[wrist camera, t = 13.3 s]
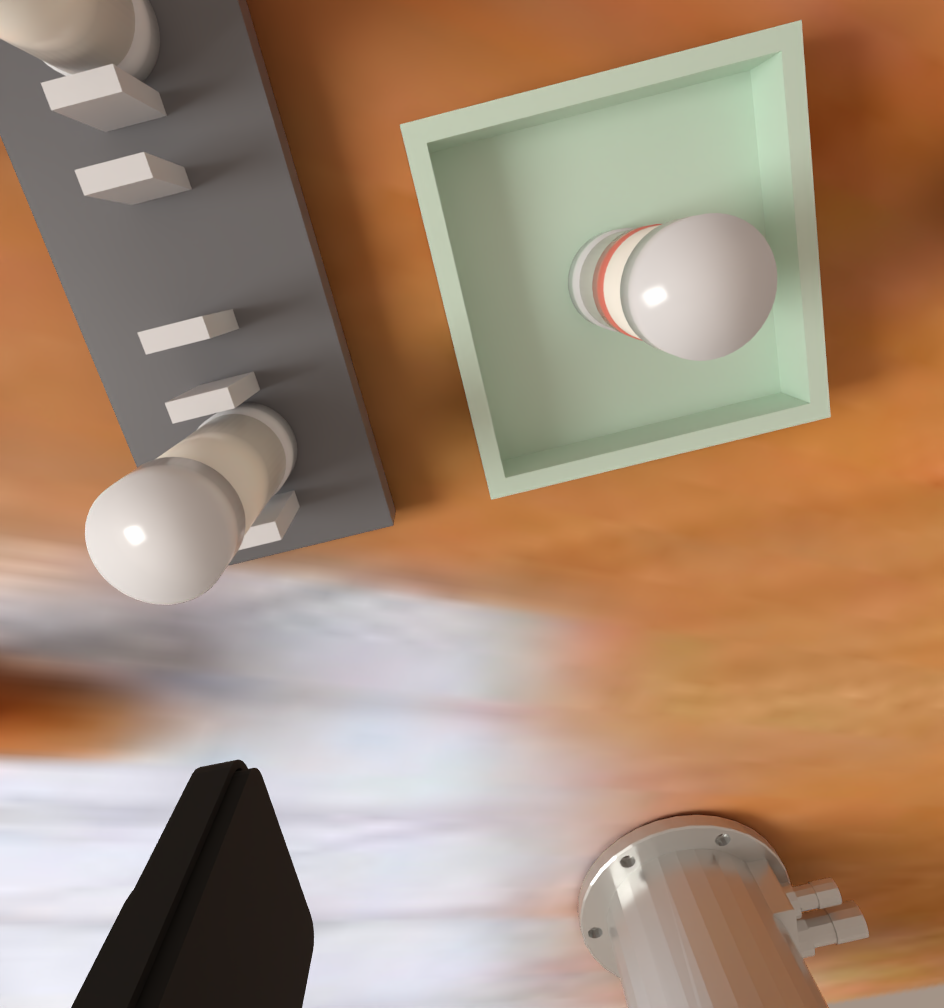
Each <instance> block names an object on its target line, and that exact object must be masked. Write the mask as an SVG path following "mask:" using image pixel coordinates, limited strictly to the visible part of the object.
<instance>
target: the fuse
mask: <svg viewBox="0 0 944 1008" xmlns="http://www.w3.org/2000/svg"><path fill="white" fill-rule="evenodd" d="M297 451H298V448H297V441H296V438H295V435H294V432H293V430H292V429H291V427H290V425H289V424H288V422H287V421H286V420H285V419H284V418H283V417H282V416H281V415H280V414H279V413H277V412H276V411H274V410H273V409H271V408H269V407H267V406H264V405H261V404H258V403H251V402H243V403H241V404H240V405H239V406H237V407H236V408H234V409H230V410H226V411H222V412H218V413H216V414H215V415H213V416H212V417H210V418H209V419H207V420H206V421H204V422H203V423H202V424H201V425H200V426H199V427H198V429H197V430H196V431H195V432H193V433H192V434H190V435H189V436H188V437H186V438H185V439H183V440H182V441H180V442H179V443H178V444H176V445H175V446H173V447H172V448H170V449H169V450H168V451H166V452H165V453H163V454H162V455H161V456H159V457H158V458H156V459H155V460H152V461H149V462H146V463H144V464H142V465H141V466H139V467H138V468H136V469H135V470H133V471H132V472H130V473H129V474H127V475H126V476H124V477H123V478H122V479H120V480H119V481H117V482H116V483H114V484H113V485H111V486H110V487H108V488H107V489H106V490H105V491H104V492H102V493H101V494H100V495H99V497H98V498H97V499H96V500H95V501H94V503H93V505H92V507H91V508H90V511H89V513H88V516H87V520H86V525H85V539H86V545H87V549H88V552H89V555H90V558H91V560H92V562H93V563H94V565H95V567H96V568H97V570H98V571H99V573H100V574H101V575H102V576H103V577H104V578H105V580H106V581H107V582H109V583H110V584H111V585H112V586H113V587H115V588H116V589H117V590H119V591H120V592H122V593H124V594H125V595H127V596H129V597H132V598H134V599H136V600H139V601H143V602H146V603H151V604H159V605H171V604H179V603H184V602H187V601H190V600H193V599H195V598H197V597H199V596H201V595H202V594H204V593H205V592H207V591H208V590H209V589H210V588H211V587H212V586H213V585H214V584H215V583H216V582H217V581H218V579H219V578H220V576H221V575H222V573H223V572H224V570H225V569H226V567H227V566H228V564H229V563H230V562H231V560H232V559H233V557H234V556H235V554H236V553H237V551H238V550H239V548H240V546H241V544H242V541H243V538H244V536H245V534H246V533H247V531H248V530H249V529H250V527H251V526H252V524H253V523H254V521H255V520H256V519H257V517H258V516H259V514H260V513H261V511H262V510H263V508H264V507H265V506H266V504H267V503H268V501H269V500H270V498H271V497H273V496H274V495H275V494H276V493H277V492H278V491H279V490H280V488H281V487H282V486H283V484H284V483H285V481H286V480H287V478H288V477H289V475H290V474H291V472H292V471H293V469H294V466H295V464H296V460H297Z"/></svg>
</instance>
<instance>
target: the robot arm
mask: <svg viewBox="0 0 944 1008" xmlns="http://www.w3.org/2000/svg"><path fill="white" fill-rule="evenodd" d="M816 908H817V910H813V911H809V912H804V913H801V912H803V911H807V910H812V909H816ZM578 917H579V922H580V928H581V932H582V935H583V938H584V941H585V945H586V946H587V948H588V949H589V951H590V953H591V954H592V956H593V957H594V959H596V960H597V961H598V962H599V963H600V964H601V965H602V966H603V967H604V968H605V969H606V970H608V971H609V972H611V973H612V974H614V975H616V976H617V977H619V978H620V979H621V983H622V987H623V991H624V995H625V999H626V1002H627V1006H628V1008H829V1007H828V1005H827V1003H826V1001H825V999H824V998H823V996H822V994H821V992H820V990H819V988H818V986H817V984H816V982H815V981H814V979H813V977H812V975H811V973H810V971H809V969H808V967H807V965H806V964H805V962H804V960H803V958H807V957H812V956H814V955H815V948H816V947H821V946H825V945H830V944H834V943H835V944H836V945H837V944H842V943H846V942H851V941H855V940H860V939H864V938H868V937H869V932H868V928H867V924H866V921H865V919H864V917H863V914H862V912H861V911H860V909H859V907H858V906H857V904H856V903H855V902H854V901H852V900H849V901H844V902H842V899H841V894H840V892H839V889H838V887H837V885H836V883H835V881H834V880H833V879H832V878H830V877H829V878H824V879H820V880H815V881H811V882H808V884H804V885H799V886H795V887H791V883H790V880H789V877H788V874H787V871H786V868H785V867H784V865H783V863H782V861H781V859H780V858H779V856H778V854H777V852H776V851H775V850H774V848H773V847H772V846H771V845H770V844H769V842H768V841H767V840H766V839H765V838H764V837H762V836H761V835H760V834H758V833H757V832H756V831H754V830H753V829H751V828H749V827H747V826H745V825H743V824H741V823H739V822H737V821H733V820H729V819H726V818H722V817H718V816H707V815H687V816H675V817H671V818H667V819H662V820H658V821H655V822H652V823H650V824H647V825H644V826H642V827H639V828H637V829H635V830H633V831H632V832H630V833H628V834H626V835H625V836H623V837H621V838H620V839H618V840H617V841H616V842H615V843H613V844H612V845H611V846H610V847H608V848H607V849H606V850H605V851H604V852H603V853H602V854H601V855H600V856H599V858H598V859H597V860H596V861H595V862H594V863H593V865H592V866H591V868H590V869H589V871H588V873H587V875H586V877H585V878H584V880H583V883H582V886H581V889H580V893H579V896H578ZM313 946H314V929H313V922H312V918H311V914H310V912H309V909H308V906H307V903H306V900H305V897H304V894H303V892H302V889H301V886H300V883H299V880H298V877H297V874H296V872H295V869H294V866H293V863H292V860H291V857H290V854H289V852H288V849H287V846H286V843H285V840H284V837H283V834H282V832H281V829H280V826H279V823H278V820H277V817H276V814H275V811H274V809H273V806H272V803H271V800H270V797H269V794H268V791H267V789H266V786H265V783H264V780H263V777H262V775H261V773H260V771H259V770H258V769H257V768H251V769H248V768H247V766H246V764H245V763H244V762H243V761H241V760H234V761H229V762H224V763H219V764H214V765H209V766H204V767H200V768H197V769H196V770H195V771H194V773H193V774H192V776H191V778H190V780H189V782H188V783H187V785H186V787H185V789H184V791H183V793H182V795H181V797H180V799H179V801H178V803H177V805H176V807H175V809H174V811H173V813H172V815H171V817H170V819H169V821H168V823H167V825H166V827H165V829H164V831H163V833H162V835H161V837H160V839H159V841H158V843H157V845H156V847H155V849H154V851H153V853H152V855H151V857H150V859H149V861H148V863H147V865H146V867H145V869H144V870H143V872H142V874H141V876H140V878H139V880H138V882H137V884H136V886H135V888H134V890H133V891H132V892H131V894H130V895H129V897H128V898H127V900H126V901H125V903H124V905H123V907H122V909H121V911H120V913H119V915H118V917H117V919H116V921H115V923H114V925H113V927H112V929H111V931H110V932H109V934H108V936H107V938H106V940H105V942H104V944H103V946H102V948H101V950H100V952H99V954H98V956H97V958H96V960H95V962H94V964H93V966H92V968H91V970H90V972H89V974H88V976H87V978H86V980H85V982H84V983H83V985H82V987H81V989H80V991H79V993H78V995H77V997H76V999H75V1001H74V1003H73V1005H72V1007H71V1008H302V1005H303V1000H304V994H305V989H306V984H307V979H308V974H309V968H310V963H311V958H312V953H313Z"/></svg>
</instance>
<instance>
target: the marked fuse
mask: <svg viewBox="0 0 944 1008" xmlns="http://www.w3.org/2000/svg"><path fill="white" fill-rule="evenodd" d="M568 290H569V295H570V298H571V301H572V303H573V305H574V307H575V308H576V310H577V311H578V312H579V314H580V315H581V316H582V317H583V318H585V319H586V320H587V321H589V322H591V323H592V324H595V325H597V326H600V327H602V328H605V329H608V330H611V331H615V332H619V333H622V334H624V335H627V336H630V337H632V338H635V339H637V340H641V341H644V342H645V343H647V344H648V345H650V346H652V347H654V348H657V349H659V350H662V351H664V352H667V353H669V354H672V355H675V356H677V357H680V358H683V359H687V360H694V361H706V360H713V359H717V358H720V357H724V356H726V355H728V354H731V353H733V352H734V351H736V350H738V349H739V348H741V347H742V346H744V345H745V344H746V343H747V342H749V341H750V340H751V339H752V338H753V337H754V336H755V335H756V334H757V332H758V331H759V330H760V329H761V327H762V326H763V324H764V323H765V321H766V319H767V318H768V316H769V313H770V311H771V309H772V306H773V303H774V300H775V296H776V291H777V268H776V262H775V259H774V255H773V252H772V250H771V248H770V246H769V244H768V243H767V241H766V239H765V238H764V237H763V235H762V234H761V233H760V232H759V231H758V230H757V229H756V228H755V227H754V226H752V225H751V224H750V223H748V222H746V221H745V220H743V219H740V218H738V217H736V216H732V215H728V214H722V213H707V214H702V215H696V216H690V217H685V218H679V219H674V220H671V221H668V222H666V223H663V224H654V225H648V226H643V227H637V228H623V229H617V230H611V231H606V232H603V233H600V234H598V235H596V236H594V237H592V238H591V239H589V240H588V241H587V242H586V243H585V244H584V245H583V246H582V247H581V248H580V249H579V250H578V252H577V253H576V255H575V257H574V259H573V261H572V263H571V266H570V270H569V275H568Z"/></svg>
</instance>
